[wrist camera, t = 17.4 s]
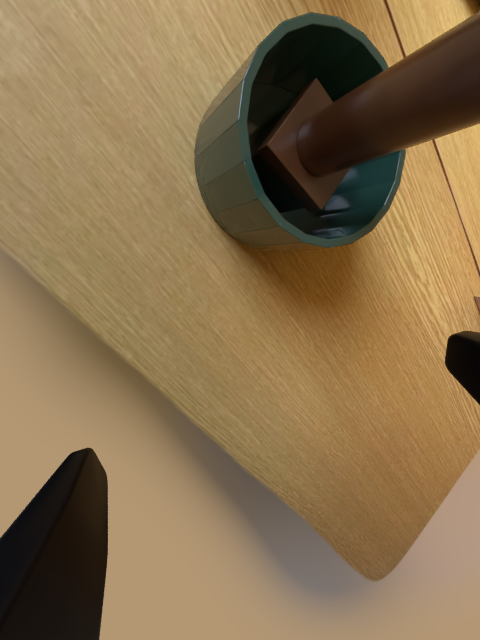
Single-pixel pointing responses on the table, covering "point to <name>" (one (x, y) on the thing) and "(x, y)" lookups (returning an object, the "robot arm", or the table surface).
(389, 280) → the table surface
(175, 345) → the table surface
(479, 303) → the greeting card
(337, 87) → the green and tan cup
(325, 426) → the table surface
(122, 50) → the table surface
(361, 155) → the brown stamp
